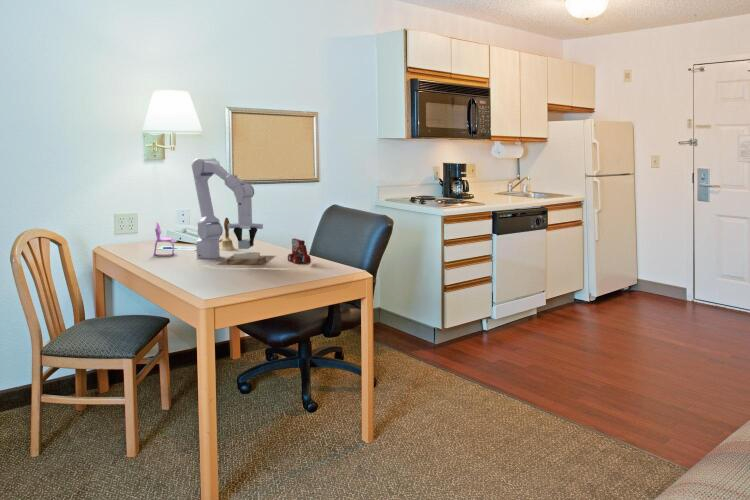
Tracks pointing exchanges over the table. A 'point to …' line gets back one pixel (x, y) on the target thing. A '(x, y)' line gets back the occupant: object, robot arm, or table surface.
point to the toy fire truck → (299, 252)
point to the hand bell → (227, 238)
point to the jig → (246, 261)
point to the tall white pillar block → (247, 255)
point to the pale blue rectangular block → (244, 244)
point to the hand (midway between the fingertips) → (246, 245)
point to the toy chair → (161, 238)
